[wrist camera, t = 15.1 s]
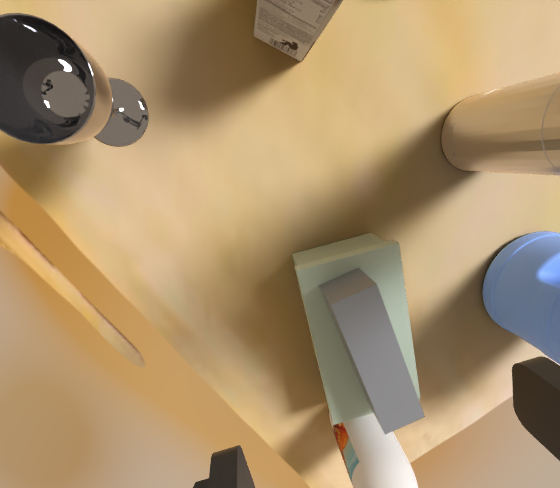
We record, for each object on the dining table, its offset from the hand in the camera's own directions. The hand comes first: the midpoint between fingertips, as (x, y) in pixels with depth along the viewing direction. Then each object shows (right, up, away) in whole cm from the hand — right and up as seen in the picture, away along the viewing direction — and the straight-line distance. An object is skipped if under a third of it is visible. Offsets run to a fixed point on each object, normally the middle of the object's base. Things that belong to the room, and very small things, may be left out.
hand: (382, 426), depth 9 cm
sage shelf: (+6, -5, +37) cm, 37 cm away
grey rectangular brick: (+7, -6, +30) cm, 31 cm away
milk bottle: (+8, -21, +41) cm, 47 cm away
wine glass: (-21, +20, +27) cm, 40 cm away
